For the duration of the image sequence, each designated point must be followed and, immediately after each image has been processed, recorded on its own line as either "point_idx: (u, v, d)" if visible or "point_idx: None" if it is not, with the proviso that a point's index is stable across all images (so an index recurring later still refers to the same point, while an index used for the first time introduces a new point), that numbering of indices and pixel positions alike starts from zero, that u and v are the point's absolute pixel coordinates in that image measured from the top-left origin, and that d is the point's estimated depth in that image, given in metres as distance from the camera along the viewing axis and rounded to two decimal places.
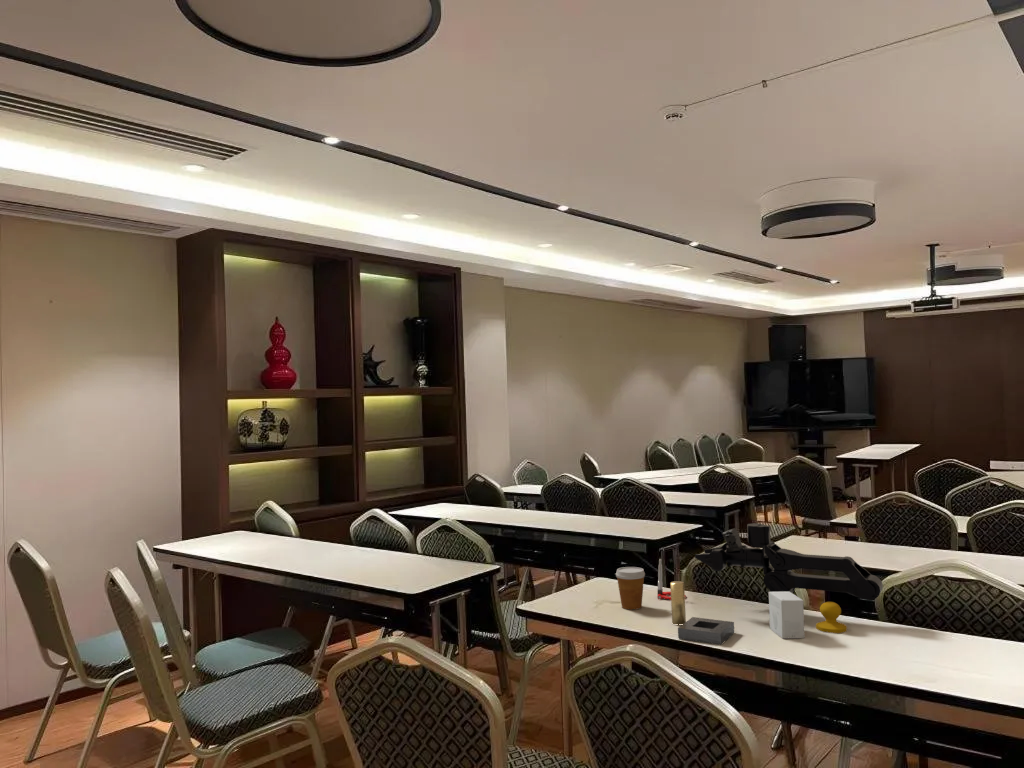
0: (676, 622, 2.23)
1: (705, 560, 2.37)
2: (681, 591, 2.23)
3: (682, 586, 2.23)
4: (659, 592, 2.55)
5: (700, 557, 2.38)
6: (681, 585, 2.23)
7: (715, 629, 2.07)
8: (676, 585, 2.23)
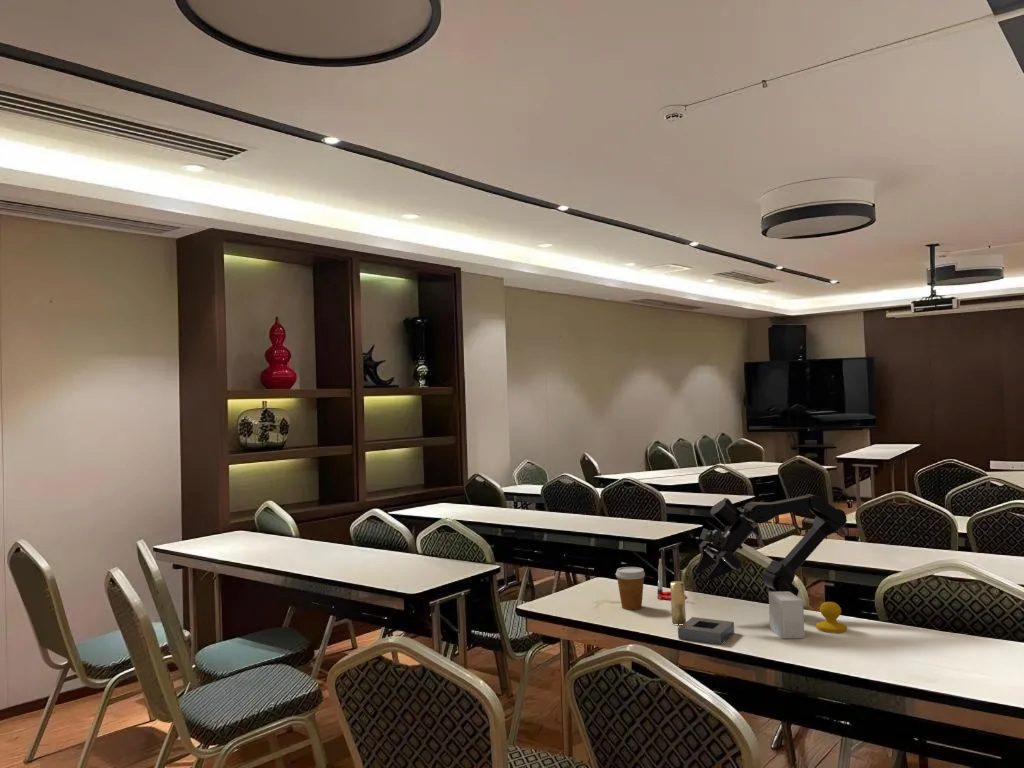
0: (676, 622, 2.23)
1: (719, 572, 2.21)
2: (681, 591, 2.23)
3: (682, 586, 2.23)
4: (659, 592, 2.55)
5: (713, 575, 2.21)
6: (681, 585, 2.23)
7: (715, 629, 2.07)
8: (676, 585, 2.23)
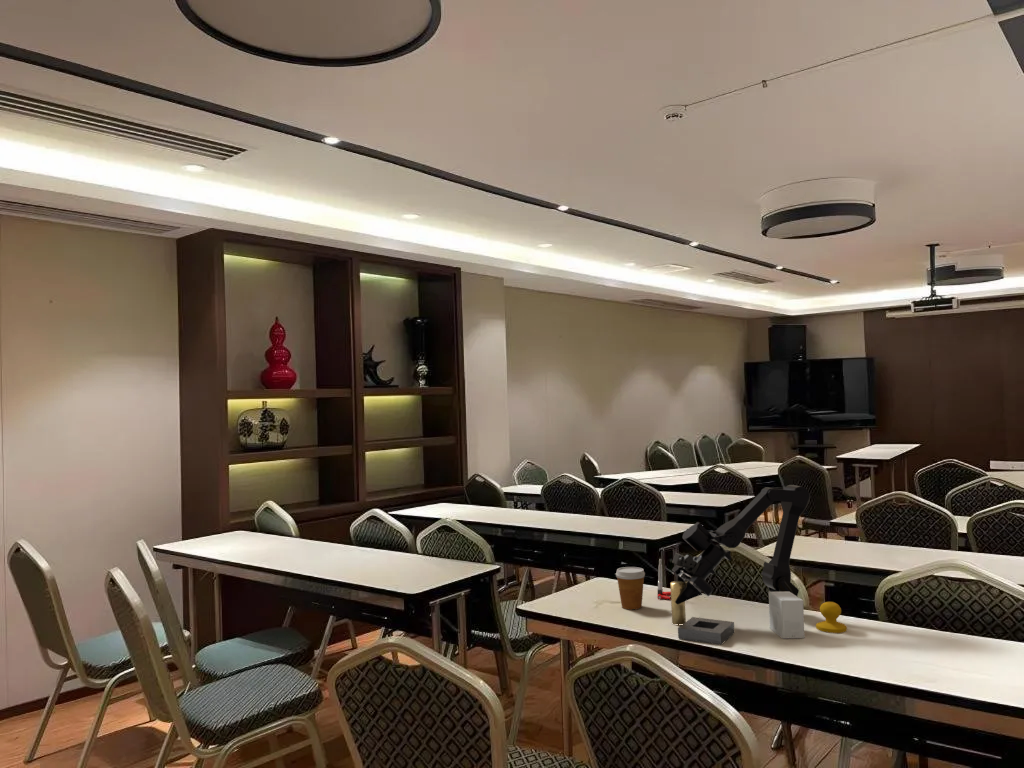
0: (676, 622, 2.23)
1: (687, 596, 2.22)
2: None
3: (682, 586, 2.23)
4: (659, 592, 2.55)
5: (681, 598, 2.22)
6: (681, 585, 2.23)
7: (715, 629, 2.07)
8: (676, 585, 2.23)
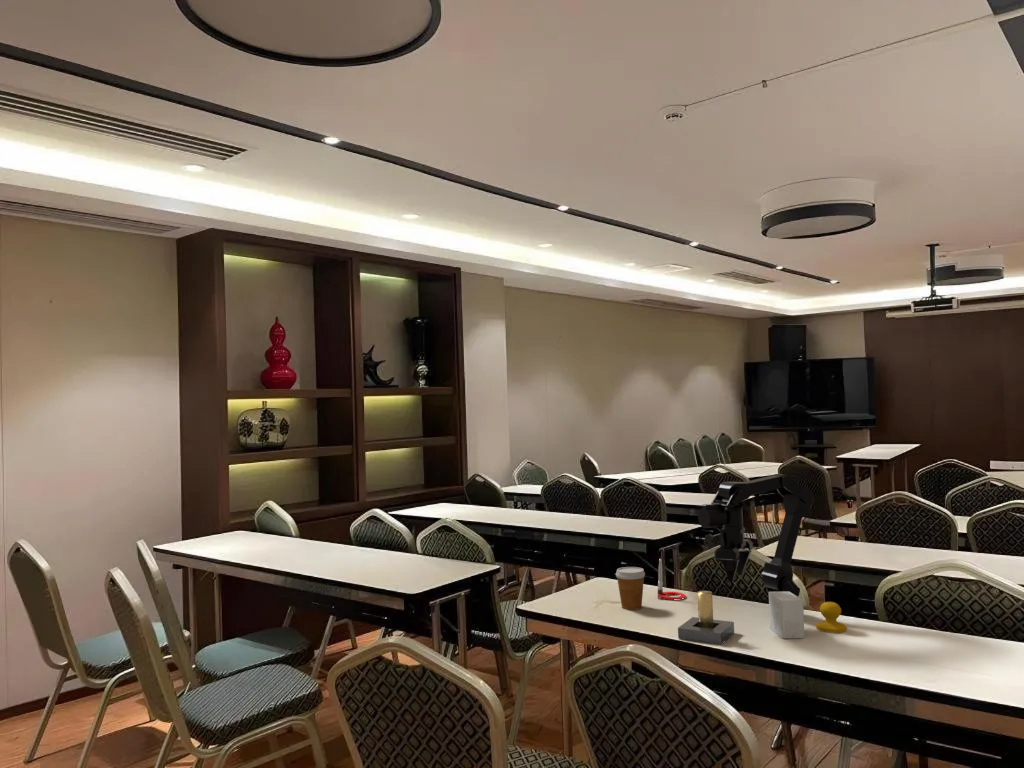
0: None
1: (731, 569, 2.18)
2: (711, 601, 2.11)
3: (711, 595, 2.11)
4: (659, 592, 2.55)
5: (729, 575, 2.19)
6: (711, 594, 2.11)
7: (715, 629, 2.07)
8: (707, 595, 2.10)
